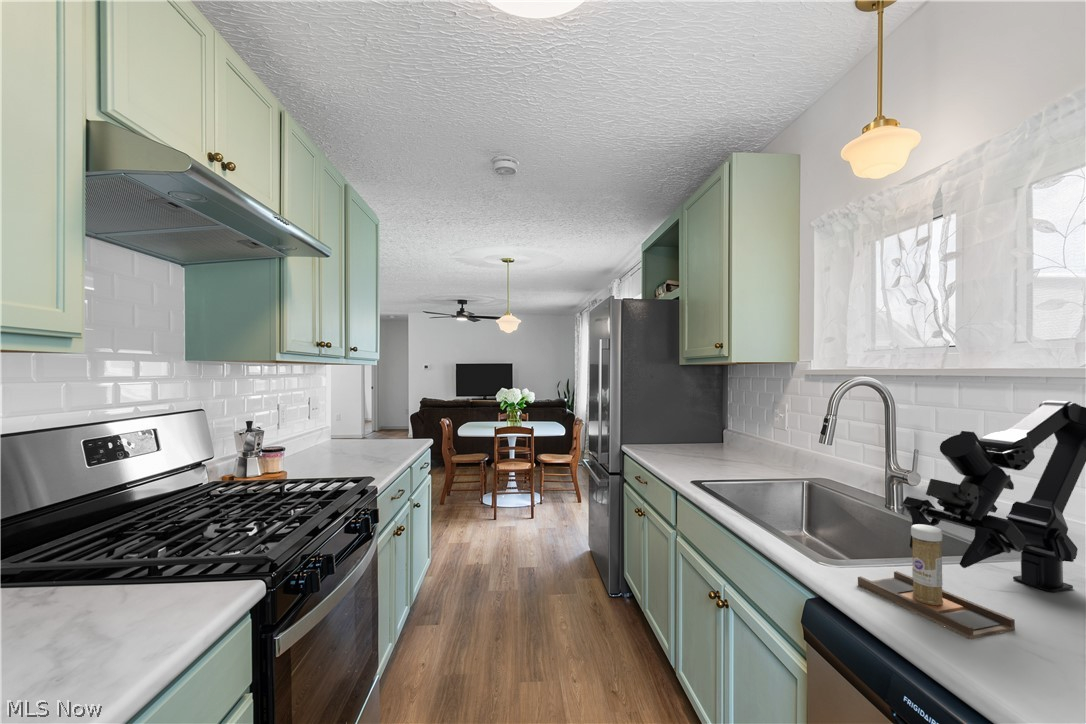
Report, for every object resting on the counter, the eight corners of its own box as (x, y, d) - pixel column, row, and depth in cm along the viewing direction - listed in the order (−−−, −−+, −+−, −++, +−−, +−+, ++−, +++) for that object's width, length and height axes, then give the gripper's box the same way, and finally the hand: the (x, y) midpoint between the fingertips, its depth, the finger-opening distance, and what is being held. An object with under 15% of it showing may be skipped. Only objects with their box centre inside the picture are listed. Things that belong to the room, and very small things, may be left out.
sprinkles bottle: (907, 598, 94) (905, 525, 94) (920, 593, 96) (918, 521, 96) (936, 608, 90) (934, 532, 90) (948, 602, 92) (947, 528, 92)
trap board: (897, 579, 104) (896, 571, 104) (1014, 629, 84) (1014, 619, 84) (857, 585, 102) (857, 576, 102) (969, 638, 82) (969, 628, 82)
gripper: (906, 455, 104) (865, 515, 101) (1011, 473, 86) (964, 546, 83) (937, 490, 106) (898, 550, 103) (1046, 515, 88) (1001, 588, 85)
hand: (935, 556), depth 94 cm, fingers open, 9 cm apart
